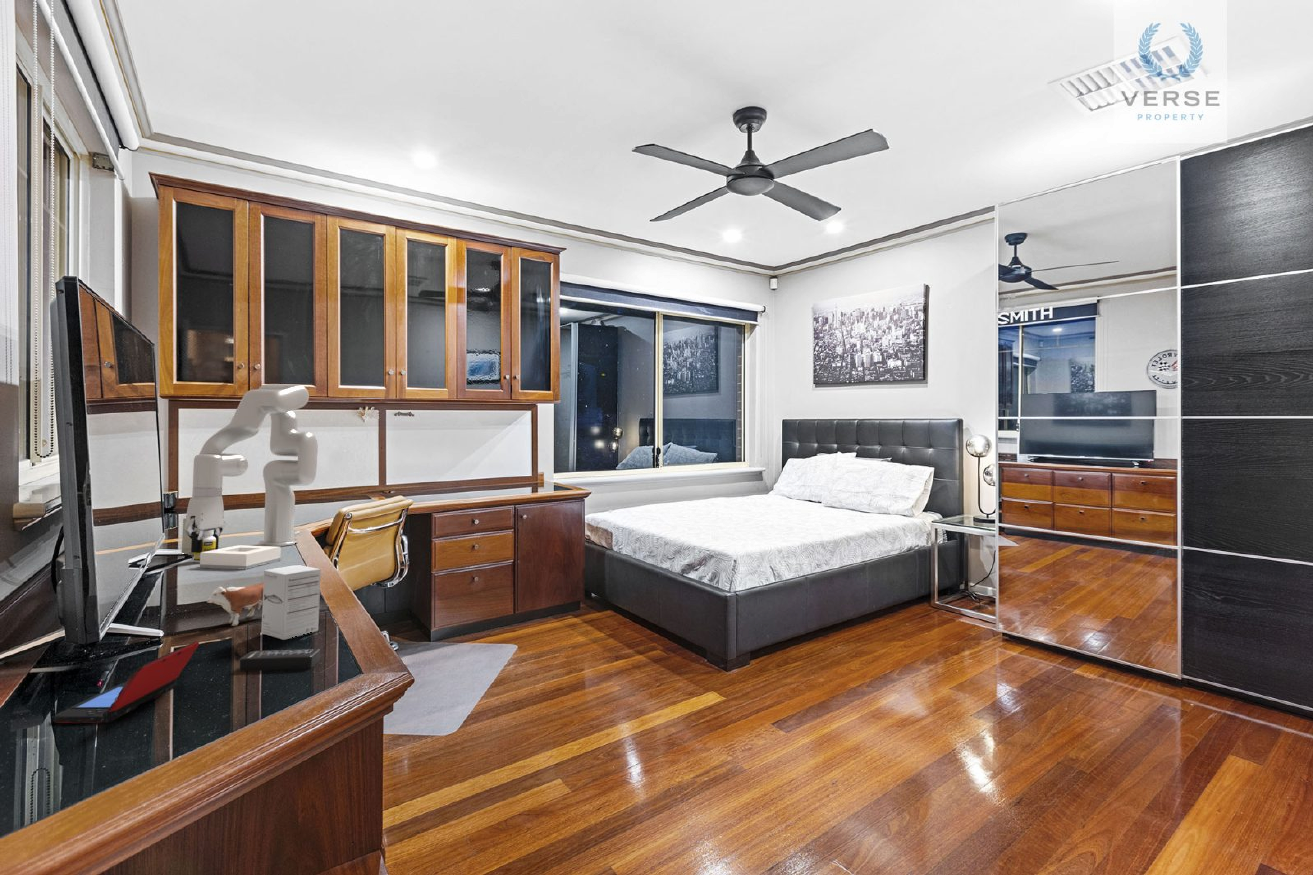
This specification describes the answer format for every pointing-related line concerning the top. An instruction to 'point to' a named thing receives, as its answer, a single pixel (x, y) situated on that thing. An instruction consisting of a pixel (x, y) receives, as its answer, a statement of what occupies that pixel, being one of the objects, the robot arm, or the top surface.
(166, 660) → the handheld game console
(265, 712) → the top surface
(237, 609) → the bull figurine
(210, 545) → the supplement bottle
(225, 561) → the sleeve holder
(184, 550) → the skincare box
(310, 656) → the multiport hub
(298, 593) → the supplement box
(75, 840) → the top surface
